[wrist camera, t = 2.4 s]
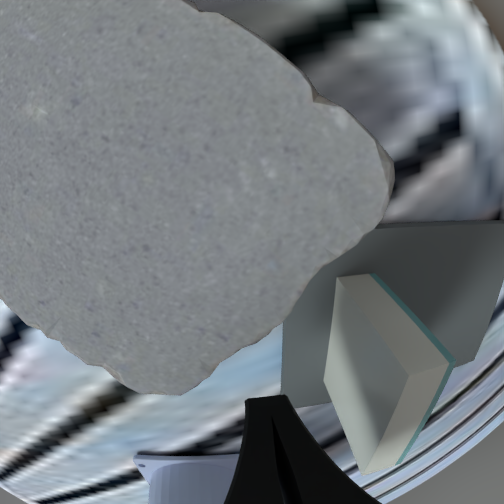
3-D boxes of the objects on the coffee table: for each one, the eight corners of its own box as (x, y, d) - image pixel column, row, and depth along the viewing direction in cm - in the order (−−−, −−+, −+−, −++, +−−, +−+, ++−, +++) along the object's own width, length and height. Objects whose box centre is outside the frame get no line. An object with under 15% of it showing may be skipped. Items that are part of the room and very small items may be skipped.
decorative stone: (283, 290, 14) (355, 65, 10) (326, 419, 7) (481, 35, 4) (-12, 224, 11) (17, 16, 7) (-105, 296, 5) (-88, -12, 1)
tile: (355, 374, 15) (400, 463, 9) (323, 380, 15) (361, 476, 9) (374, 273, 13) (456, 360, 7) (336, 277, 13) (408, 375, 7)
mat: (469, 355, 17) (473, 360, 17) (280, 402, 16) (282, 410, 15) (510, 220, 13) (516, 223, 13) (284, 228, 12) (287, 233, 12)
